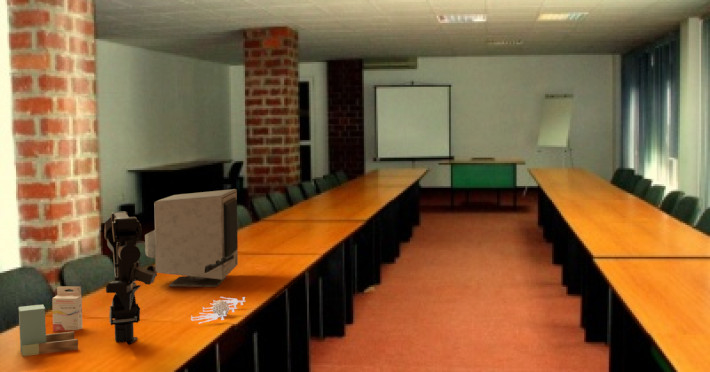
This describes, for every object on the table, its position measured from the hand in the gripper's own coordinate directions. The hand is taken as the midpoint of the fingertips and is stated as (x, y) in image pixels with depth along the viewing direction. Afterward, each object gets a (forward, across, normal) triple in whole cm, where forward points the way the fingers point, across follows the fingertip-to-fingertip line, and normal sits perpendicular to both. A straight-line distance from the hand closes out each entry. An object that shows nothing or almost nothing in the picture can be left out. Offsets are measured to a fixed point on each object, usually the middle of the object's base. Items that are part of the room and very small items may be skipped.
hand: (128, 310), depth 231 cm
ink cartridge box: (+13, +24, +30) cm, 41 cm away
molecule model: (+14, +48, -16) cm, 52 cm away
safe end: (+13, -2, +30) cm, 33 cm away
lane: (+13, +2, +23) cm, 27 cm away
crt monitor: (+13, +106, +11) cm, 107 cm away
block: (+12, -1, +29) cm, 32 cm away
